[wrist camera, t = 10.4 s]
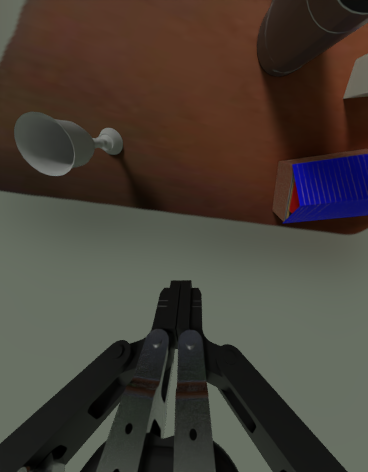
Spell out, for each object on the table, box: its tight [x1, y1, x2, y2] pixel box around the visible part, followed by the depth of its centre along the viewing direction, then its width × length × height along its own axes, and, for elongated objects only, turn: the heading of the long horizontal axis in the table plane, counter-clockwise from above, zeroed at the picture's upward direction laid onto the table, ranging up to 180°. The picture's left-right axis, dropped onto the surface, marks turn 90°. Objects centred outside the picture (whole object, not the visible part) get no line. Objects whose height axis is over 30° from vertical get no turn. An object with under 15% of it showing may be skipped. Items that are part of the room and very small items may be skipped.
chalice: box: [14, 112, 123, 176], centre depth 28 cm, size 7×7×18 cm
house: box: [272, 148, 368, 224], centre depth 32 cm, size 12×20×12 cm, turn 99°
